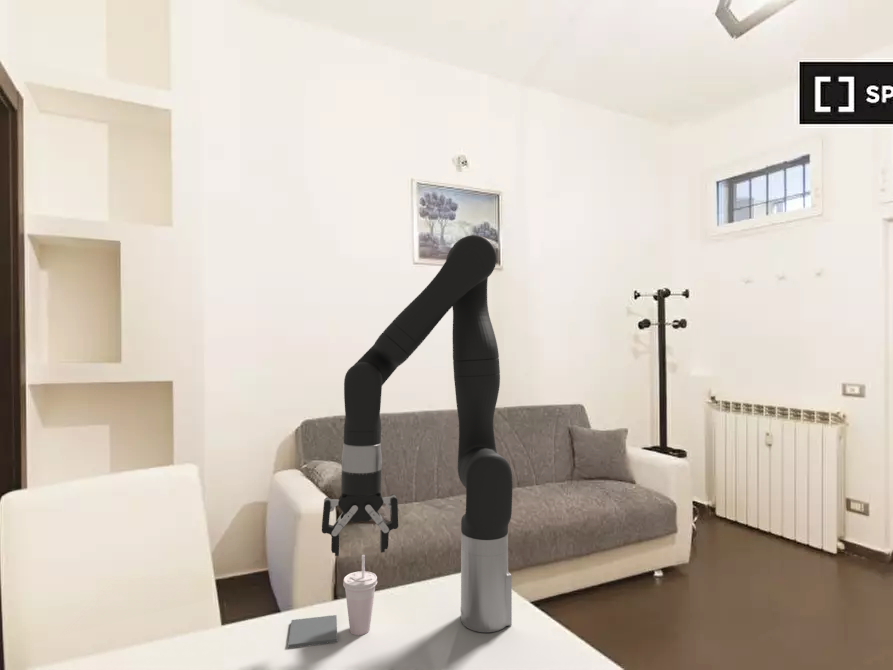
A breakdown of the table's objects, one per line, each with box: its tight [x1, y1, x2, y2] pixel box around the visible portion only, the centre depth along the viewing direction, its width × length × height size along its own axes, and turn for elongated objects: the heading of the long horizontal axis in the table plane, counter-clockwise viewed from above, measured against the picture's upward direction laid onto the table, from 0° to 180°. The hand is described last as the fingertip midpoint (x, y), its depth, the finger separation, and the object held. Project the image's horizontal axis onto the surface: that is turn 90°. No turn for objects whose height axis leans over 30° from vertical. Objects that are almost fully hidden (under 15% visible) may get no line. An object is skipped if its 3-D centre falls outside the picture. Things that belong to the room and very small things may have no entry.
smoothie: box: [342, 554, 378, 636], centre depth 97 cm, size 6×6×14 cm
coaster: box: [287, 614, 338, 649], centre depth 96 cm, size 8×8×1 cm
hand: (359, 552), depth 97 cm, fingers open, 8 cm apart
